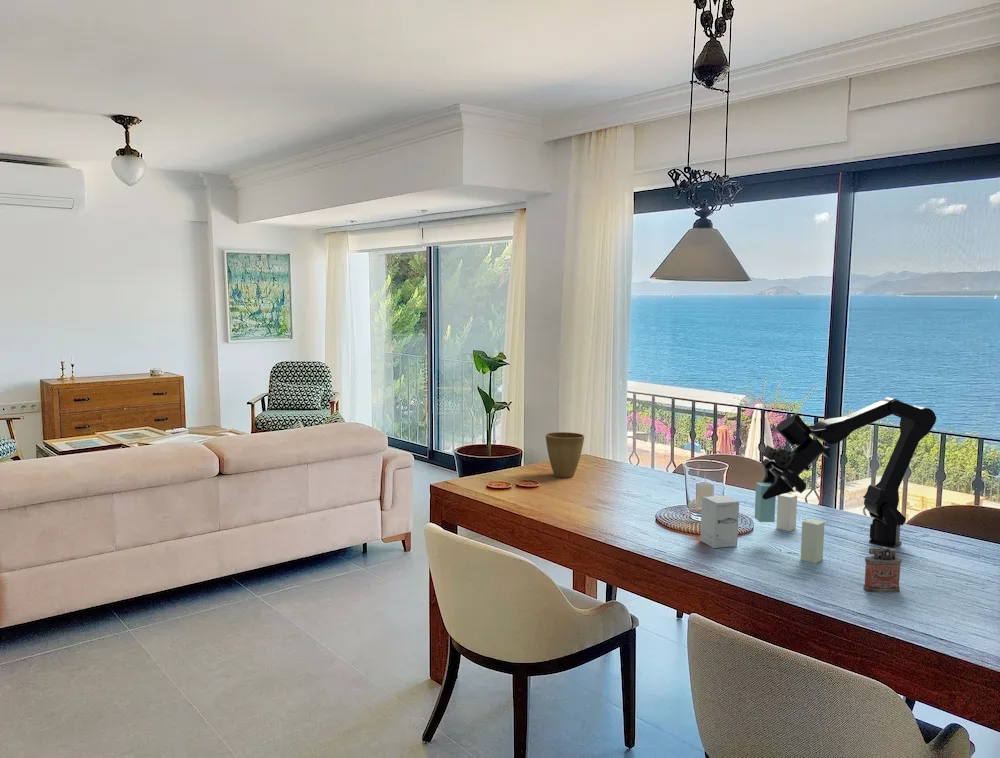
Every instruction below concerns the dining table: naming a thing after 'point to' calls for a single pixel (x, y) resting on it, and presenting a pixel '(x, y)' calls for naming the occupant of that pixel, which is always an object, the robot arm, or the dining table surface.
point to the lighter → (882, 571)
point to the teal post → (764, 504)
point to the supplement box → (719, 521)
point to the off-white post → (786, 512)
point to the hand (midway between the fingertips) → (760, 496)
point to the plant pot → (564, 452)
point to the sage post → (812, 540)
